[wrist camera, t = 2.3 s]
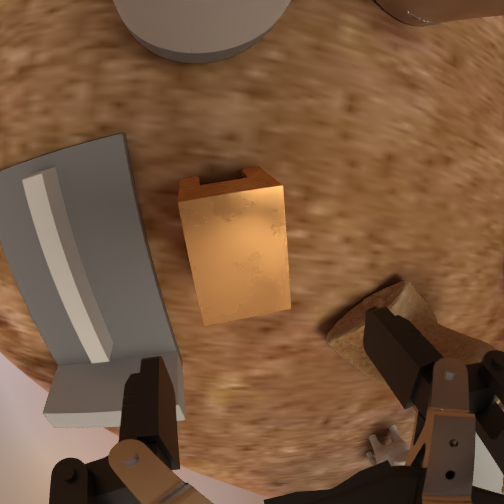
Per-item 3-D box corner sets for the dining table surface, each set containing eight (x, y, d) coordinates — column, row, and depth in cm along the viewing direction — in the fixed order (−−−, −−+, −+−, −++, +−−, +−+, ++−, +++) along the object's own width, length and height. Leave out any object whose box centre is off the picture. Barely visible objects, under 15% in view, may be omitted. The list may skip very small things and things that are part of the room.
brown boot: (450, 319, 34) (524, 396, 21) (379, 383, 36) (437, 473, 23) (408, 242, 28) (524, 334, 14) (315, 328, 30) (388, 458, 16)
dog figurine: (399, 410, 41) (432, 461, 31) (390, 446, 47) (415, 489, 37) (368, 424, 41) (398, 479, 31) (364, 458, 46) (387, 503, 37)
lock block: (179, 179, 22) (177, 202, 16) (259, 166, 22) (282, 185, 17) (199, 279, 25) (204, 325, 20) (269, 266, 26) (290, 308, 21)
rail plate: (-12, 175, 18) (-64, 201, 12) (125, 132, 20) (98, 142, 13) (69, 373, 27) (54, 427, 21) (182, 360, 28) (185, 419, 22)
